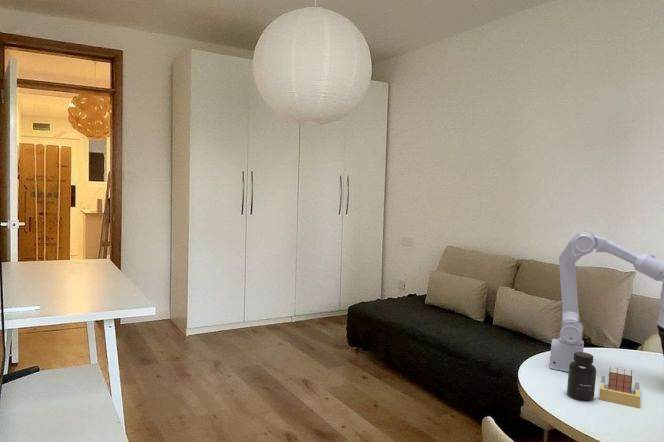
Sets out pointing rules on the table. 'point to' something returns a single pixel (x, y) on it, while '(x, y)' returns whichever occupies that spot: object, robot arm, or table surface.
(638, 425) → the table surface
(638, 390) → the tube holder
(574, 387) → the supplement bottle
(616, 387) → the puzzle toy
